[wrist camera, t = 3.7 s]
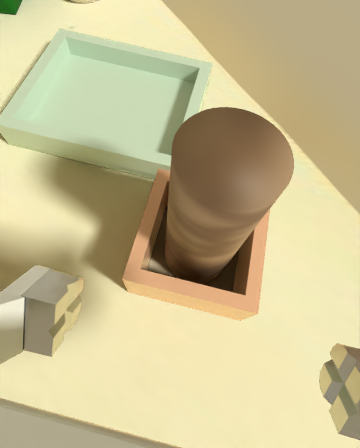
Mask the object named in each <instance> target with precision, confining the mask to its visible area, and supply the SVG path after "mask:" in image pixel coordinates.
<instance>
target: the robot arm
mask: <svg viewBox="0 0 360 448" xmlns="http://www.w3.org/2000/svg"><path fill="white" fill-rule="evenodd" d="M83 285H84V279H83V277H80V276H77V275H73V274H70V273H66V272H63V271H59V270H55V269H52V268H48V267H44V266H40V265H35V266H33V267H32V268H31V269H29V270H28V271H27V272H26V273H24V274H23V275H22V276H20V277H19V278H18V279H17V280H15V281H14V282H13V283H11V284H10V285H9V286H8V287H6V288H5V289H4V290H2V291H0V364H1V363H3V362H5V361H7V360H8V359H10V358H12V357H14V356H16V355H17V354H19V353H21V352H22V351H23V350H25V351H30V352H34V353H38V354H42V355H47V356H51V357H52V356H53V354H54V353H55V351H56V350H57V348H58V347H59V346H60V344H61V343H62V341H63V340H64V332H67V331H69V330H71V329H72V327H73V326H74V324H75V322H76V320H77V318H78V316H79V313H80V309H81V303H82V300H81V298H80V296H79V294H80V292H81V291H82V290H83ZM330 355H331V359H332V360H330V361H328V362H326V363H324V365H323V367H322V369H321V371H320V379H319V383H320V389H321V392H322V394H323V397H324V398H325V399H326V400H327V401H328V402H329V403H330V404H331V407H330V410H329V412H330V414H331V417H332V419H333V421H334V424H335V426H336V429H337V431H338V434H341V435H345V436H348V437H351V438H355V439H358V440H360V349H359V348H354V347H350V346H346V345H342V344H338V343H337V344H336V345H335V346H333V348H332V350H331V351H330ZM0 448H181V447H177V446H173V445H170V444H166V443H162V442H159V441H155V440H152V439H148V438H144V437H141V436H137V435H133V434H130V433H126V432H122V431H119V430H115V429H111V428H108V427H104V426H101V425H97V424H93V423H90V422H86V421H82V420H79V419H75V418H71V417H68V416H64V415H61V414H57V413H53V412H50V411H46V410H42V409H39V408H35V407H31V406H28V405H24V404H20V403H17V402H13V401H10V400H6V399H2V398H0Z"/></svg>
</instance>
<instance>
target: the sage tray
mask: <svg viewBox="0 0 360 448" xmlns="http://www.w3.org/2000/svg"><path fill="white" fill-rule="evenodd" d="M211 67H212V63H208V62H204V61H200V60H195V59H191V58H187V57H182V56H178V55H173V54H169V53H165V52H160V51H156V50H152V49H147V48H143V47H138V46H134V45H130V44H125V43H121V42H117V41H112V40H108V39H103V38H99V37H95V36H90V35H86V34H82V33H77V32H73V31H68V30H64V29H59V30H58V32H57V33H56V35H55V36H54V38H53V39H52V41H51V42H50V44H49V45H48V46H47V48H46V49H45V51H44V52H43V54H42V55H41V57H40V58H39V60H38V61H37V62H36V64H35V65H34V67H33V68H32V70H31V71H30V73H29V74H28V75H27V77H26V78H25V80H24V81H23V83H22V84H21V86H20V87H19V89H18V90H17V91H16V93H15V94H14V96H13V97H12V99H11V100H10V102H9V103H8V105H7V106H6V107H5V109H4V110H3V112H2V113H1V115H0V133H1V134H2V136H3V137H4V139H5V140H6V141H7V143H8V144H10V145H14V146H18V147H23V148H27V149H31V150H35V151H39V152H43V153H47V154H51V155H56V156H60V157H64V158H68V159H72V160H76V161H80V162H84V163H89V164H93V165H97V166H101V167H105V168H109V169H113V170H117V171H122V172H126V173H130V174H134V175H138V176H142V177H146V178H150V179H155V177H156V174H157V171H158V168H159V169H163V170H167V171H170V167H171V152H172V143H173V139H174V136H175V134H176V132H177V130H178V129H179V127H180V126H181V125H182V124H183V123H184V122H185V121H186V120H187V119H188V118H190V117H191V116H193V115H195V114H197V113H199V112H201V109H202V105H203V102H204V98H205V94H206V91H207V87H208V83H209V78H210V73H211Z"/></svg>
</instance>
